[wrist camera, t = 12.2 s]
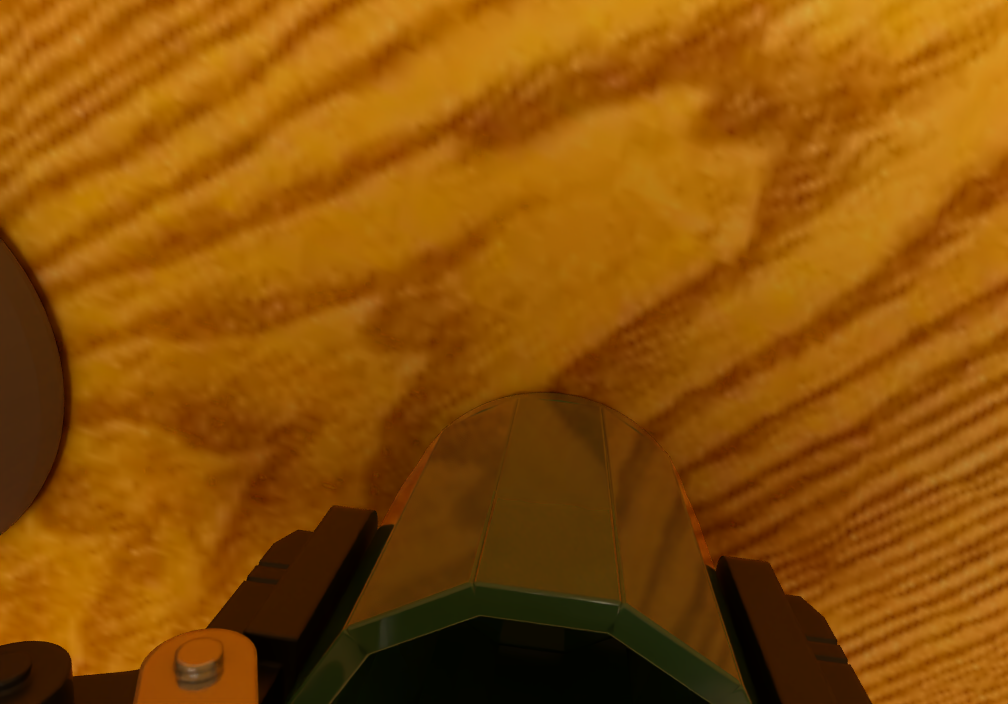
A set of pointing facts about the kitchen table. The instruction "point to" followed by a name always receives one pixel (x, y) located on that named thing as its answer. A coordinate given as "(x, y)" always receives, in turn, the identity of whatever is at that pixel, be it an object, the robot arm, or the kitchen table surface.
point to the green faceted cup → (534, 575)
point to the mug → (25, 392)
